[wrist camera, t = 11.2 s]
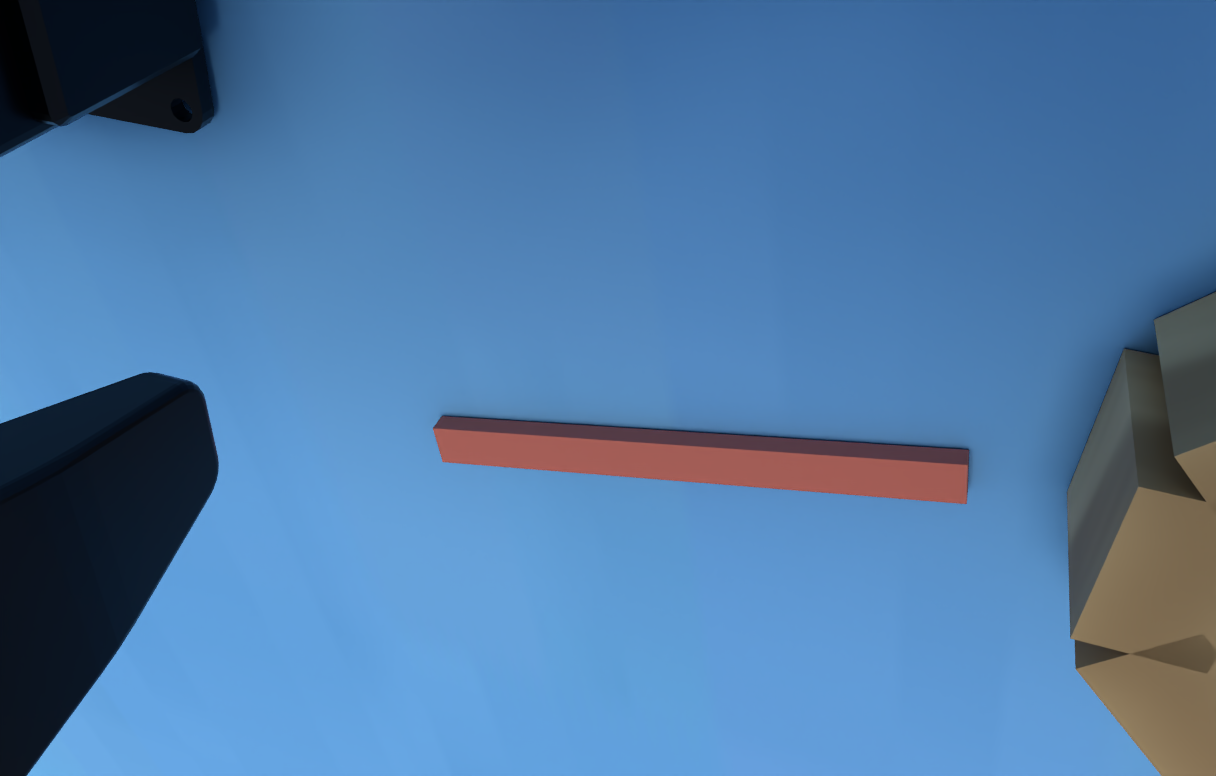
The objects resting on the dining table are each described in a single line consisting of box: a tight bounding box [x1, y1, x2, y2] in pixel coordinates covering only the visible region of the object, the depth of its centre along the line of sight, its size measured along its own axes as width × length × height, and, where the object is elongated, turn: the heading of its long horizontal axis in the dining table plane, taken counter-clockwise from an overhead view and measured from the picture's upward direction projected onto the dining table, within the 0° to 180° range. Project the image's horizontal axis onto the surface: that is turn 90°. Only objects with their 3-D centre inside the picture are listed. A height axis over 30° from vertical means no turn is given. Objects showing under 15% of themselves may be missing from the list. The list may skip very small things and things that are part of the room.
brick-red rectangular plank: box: [433, 416, 969, 504], centre depth 24 cm, size 12×1×1 cm, turn 99°
